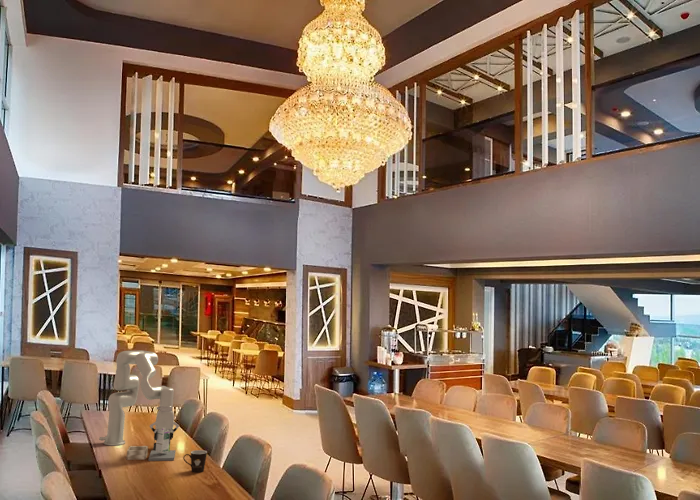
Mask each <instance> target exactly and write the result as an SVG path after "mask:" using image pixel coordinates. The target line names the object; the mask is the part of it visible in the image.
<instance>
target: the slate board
mask: <svg viewBox="0 0 700 500" xmlns="http://www.w3.org/2000/svg"><path fill="white" fill-rule="evenodd" d="M175 457H176V449H175V450H174V449H173V450H172V449H170V451H169V452H165V453H158V452H156V451H155V450H150V453H149V455H148V462H164V461H165V462H166V461H167V462H168V461H171V462H172V461H174V462H175Z"/></svg>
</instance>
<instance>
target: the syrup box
mask: <svg viewBox="0 0 700 500" xmlns="http://www.w3.org/2000/svg"><path fill="white" fill-rule="evenodd" d="M170 437H171V430H170V429H166V428H162V429H158V430H157V440H155V441H156V442H155V443H156V452H158V453H165V452H169V451H170V450H171V440H170Z"/></svg>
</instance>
